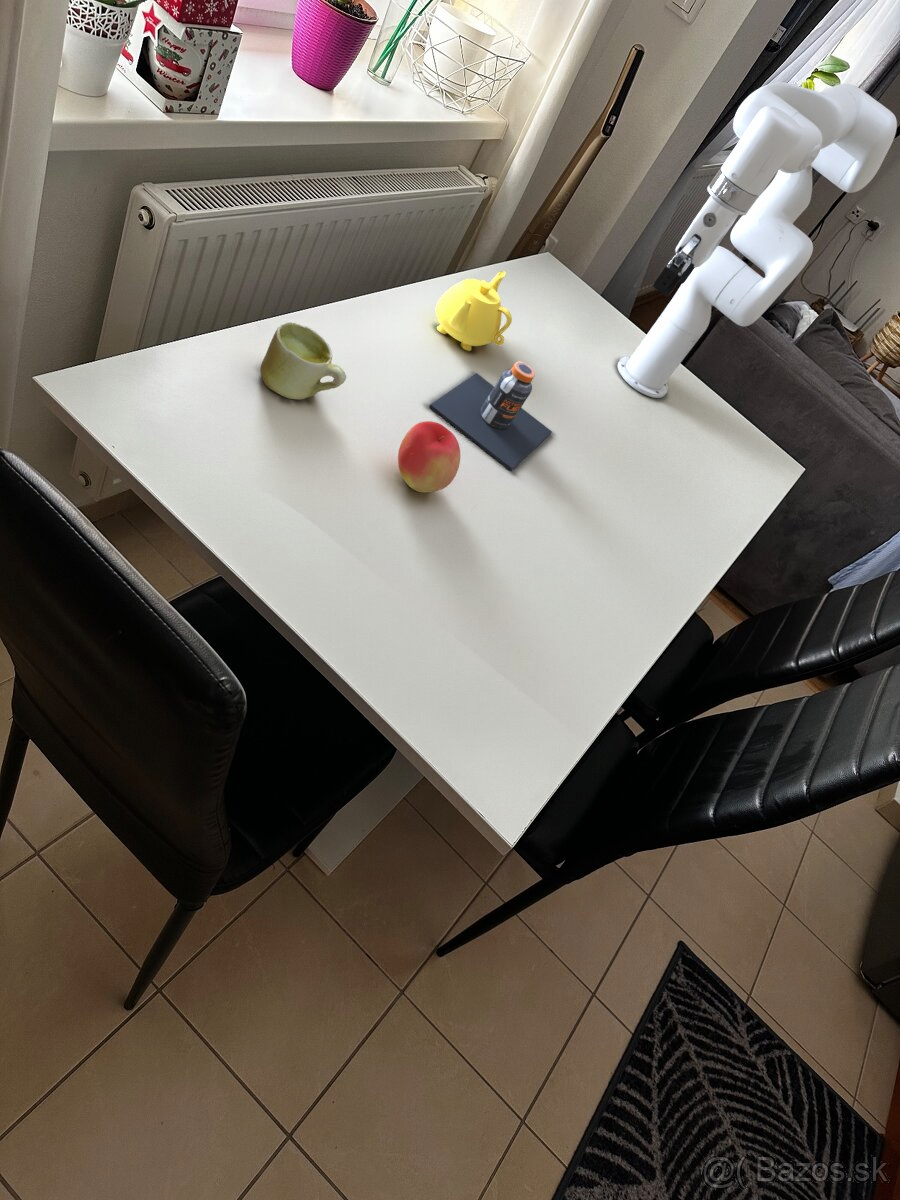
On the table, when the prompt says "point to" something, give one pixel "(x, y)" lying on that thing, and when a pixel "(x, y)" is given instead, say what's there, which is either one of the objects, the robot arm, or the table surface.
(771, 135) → the robot arm
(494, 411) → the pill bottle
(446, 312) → the teapot
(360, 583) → the table surface
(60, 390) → the table surface
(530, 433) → the mat
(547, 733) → the table surface
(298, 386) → the mug
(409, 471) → the apple
